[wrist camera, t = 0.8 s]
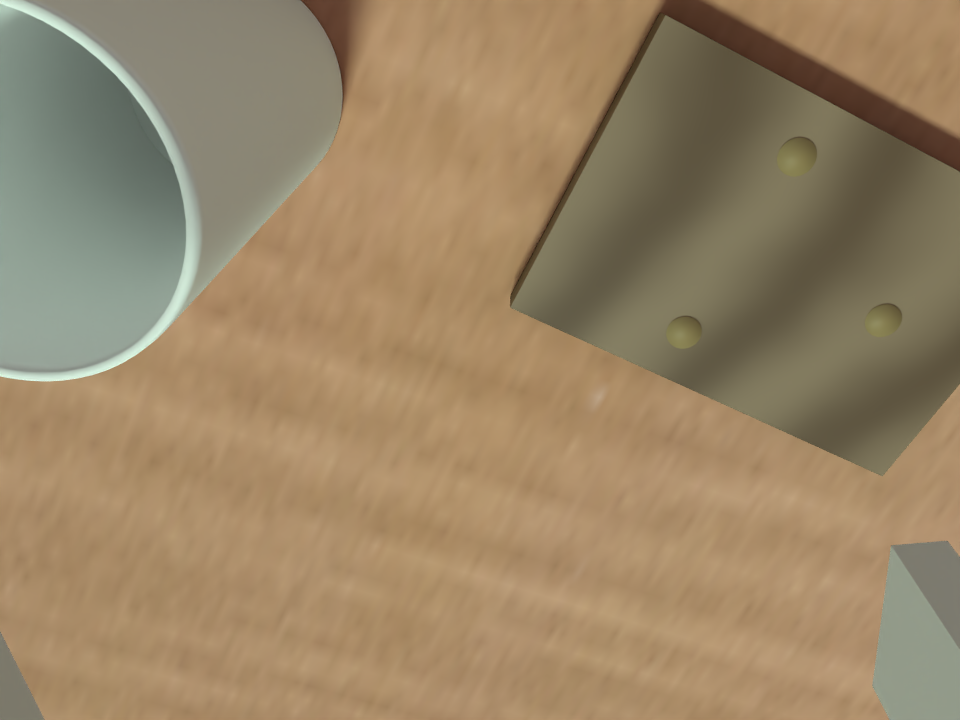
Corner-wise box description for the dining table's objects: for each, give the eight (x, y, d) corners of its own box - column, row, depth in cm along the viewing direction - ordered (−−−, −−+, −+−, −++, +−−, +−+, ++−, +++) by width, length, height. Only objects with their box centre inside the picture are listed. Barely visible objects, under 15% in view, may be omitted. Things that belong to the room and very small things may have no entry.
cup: (97, 132, 32) (-240, 280, 18) (162, -81, 29) (-187, -112, 14) (294, 230, 34) (130, 439, 19) (378, 37, 30) (255, 117, 16)
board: (510, 296, 34) (510, 307, 33) (660, 12, 30) (665, 15, 28) (871, 461, 37) (882, 477, 36) (1063, 227, 32) (1083, 237, 31)
